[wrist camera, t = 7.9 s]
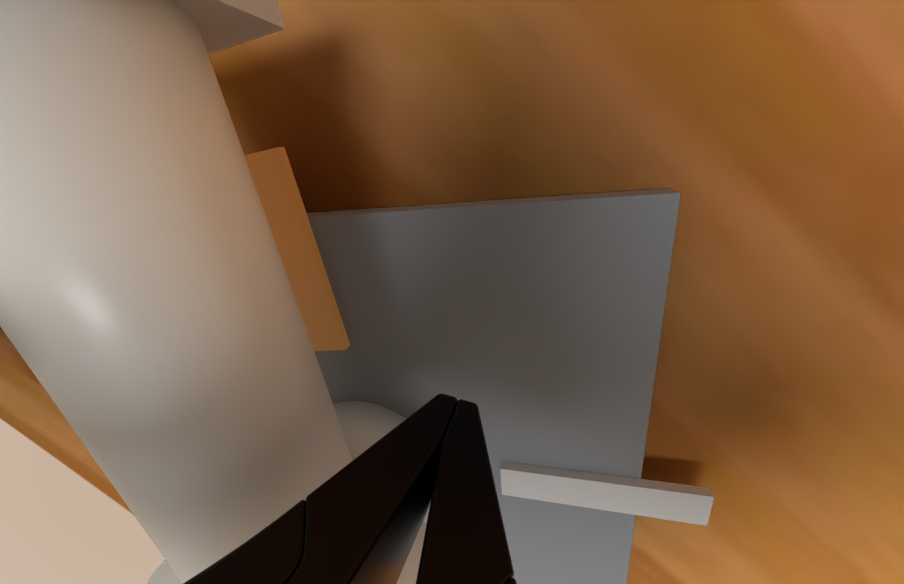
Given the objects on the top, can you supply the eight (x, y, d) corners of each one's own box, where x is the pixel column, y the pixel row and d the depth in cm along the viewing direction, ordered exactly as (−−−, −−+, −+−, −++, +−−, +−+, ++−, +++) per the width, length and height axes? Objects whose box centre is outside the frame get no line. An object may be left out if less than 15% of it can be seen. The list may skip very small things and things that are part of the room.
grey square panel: (264, 544, 20) (216, 613, 17) (90, 173, 12) (-49, 184, 9) (661, 636, 14) (689, 758, 12) (783, 85, 7) (946, 48, 4)
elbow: (460, 571, 12) (411, 812, 8) (303, 544, 14) (194, 726, 10) (307, -39, 6) (-271, -469, 2) (68, 55, 8) (-502, -44, 4)
